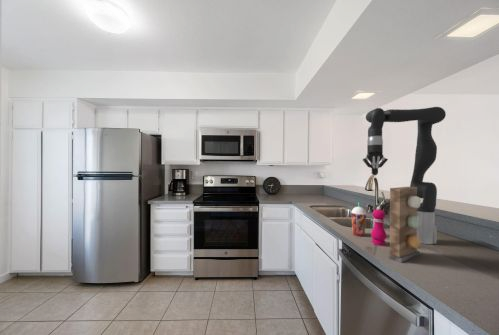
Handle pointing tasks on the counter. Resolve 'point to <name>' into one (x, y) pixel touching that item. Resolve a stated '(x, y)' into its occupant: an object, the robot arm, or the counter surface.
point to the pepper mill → (378, 228)
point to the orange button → (413, 241)
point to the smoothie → (358, 220)
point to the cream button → (414, 201)
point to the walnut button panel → (401, 224)
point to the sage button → (413, 221)
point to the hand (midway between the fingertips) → (374, 175)
